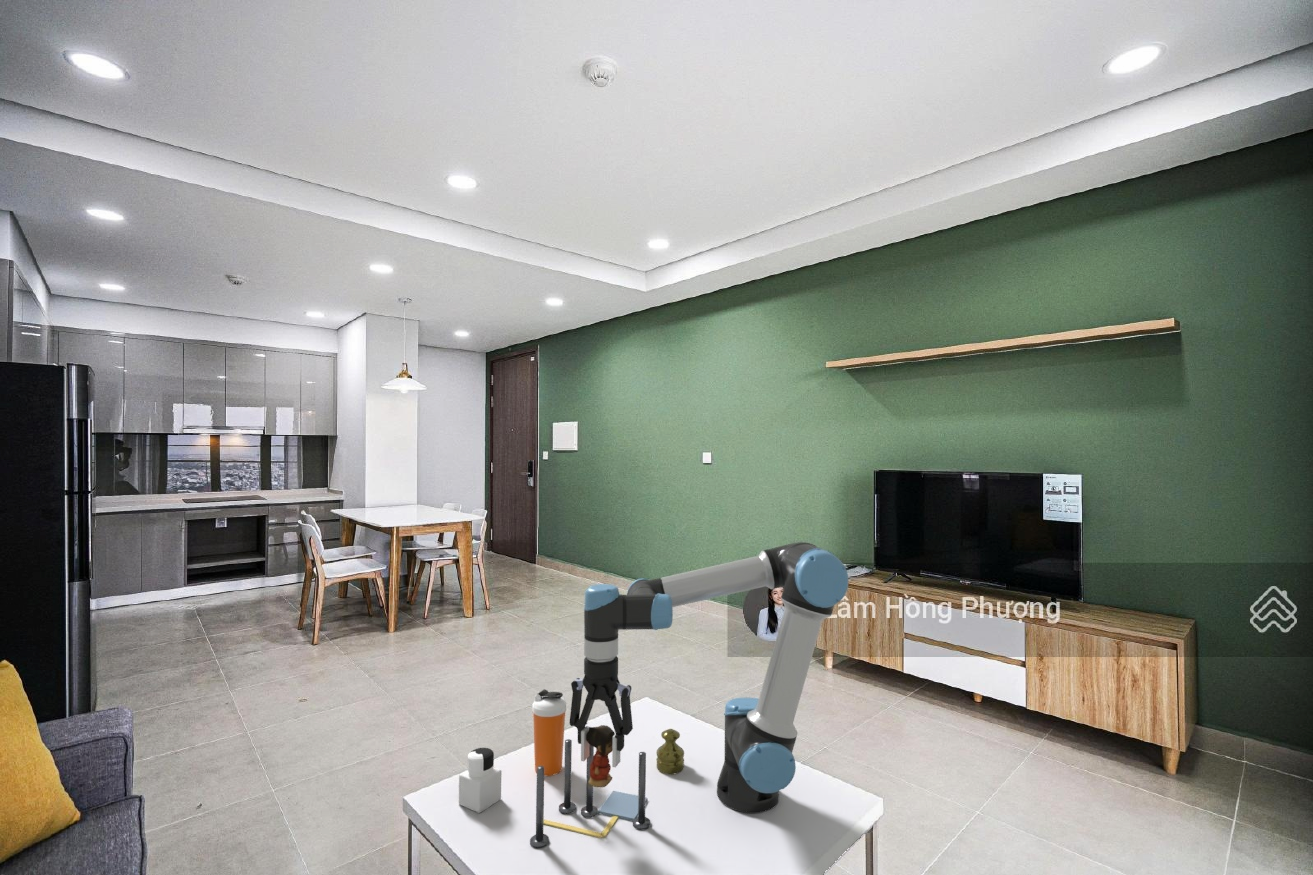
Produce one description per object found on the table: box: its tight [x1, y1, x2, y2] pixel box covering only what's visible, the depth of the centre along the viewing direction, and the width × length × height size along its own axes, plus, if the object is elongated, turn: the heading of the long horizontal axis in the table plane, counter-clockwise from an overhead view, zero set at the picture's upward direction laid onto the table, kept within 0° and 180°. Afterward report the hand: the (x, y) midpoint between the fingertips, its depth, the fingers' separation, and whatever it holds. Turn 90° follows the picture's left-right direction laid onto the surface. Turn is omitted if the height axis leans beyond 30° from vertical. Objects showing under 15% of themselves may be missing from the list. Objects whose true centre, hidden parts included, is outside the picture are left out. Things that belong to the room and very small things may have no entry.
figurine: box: [586, 724, 615, 788], centre depth 137 cm, size 6×6×12 cm
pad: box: [598, 790, 648, 822], centre depth 147 cm, size 9×9×1 cm
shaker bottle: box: [531, 689, 567, 777], centre depth 164 cm, size 9×9×20 cm
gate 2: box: [580, 744, 651, 831], centre depth 143 cm, size 17×4×16 cm, turn 71°
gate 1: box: [529, 738, 577, 849], centre depth 140 cm, size 4×17×16 cm, turn 161°
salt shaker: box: [656, 728, 685, 775], centre depth 166 cm, size 7×7×10 cm
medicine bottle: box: [458, 747, 502, 814], centre depth 149 cm, size 7×7×12 cm
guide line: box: [543, 816, 619, 839], centre depth 142 cm, size 16×8×1 cm, turn 71°
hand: (600, 761), depth 137 cm, fingers closed on figurine, 7 cm apart
